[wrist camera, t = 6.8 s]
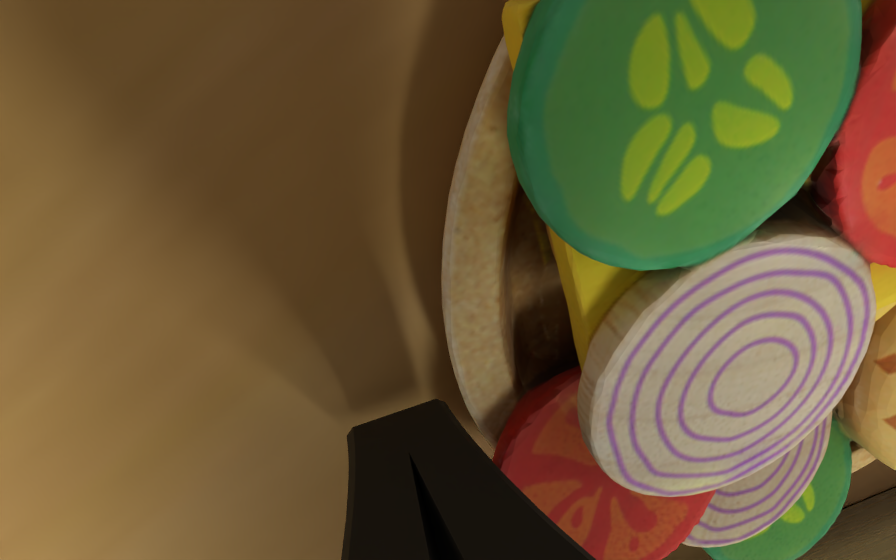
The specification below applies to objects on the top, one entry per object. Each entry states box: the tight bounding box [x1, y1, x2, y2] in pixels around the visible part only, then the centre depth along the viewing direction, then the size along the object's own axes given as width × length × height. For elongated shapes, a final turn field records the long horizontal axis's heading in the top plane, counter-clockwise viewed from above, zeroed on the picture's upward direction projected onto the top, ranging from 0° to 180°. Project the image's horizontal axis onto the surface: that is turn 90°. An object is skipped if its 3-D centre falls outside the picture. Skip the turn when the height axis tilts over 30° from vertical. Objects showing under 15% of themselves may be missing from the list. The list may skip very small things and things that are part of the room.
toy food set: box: [441, 0, 896, 560], centre depth 10 cm, size 13×13×3 cm
